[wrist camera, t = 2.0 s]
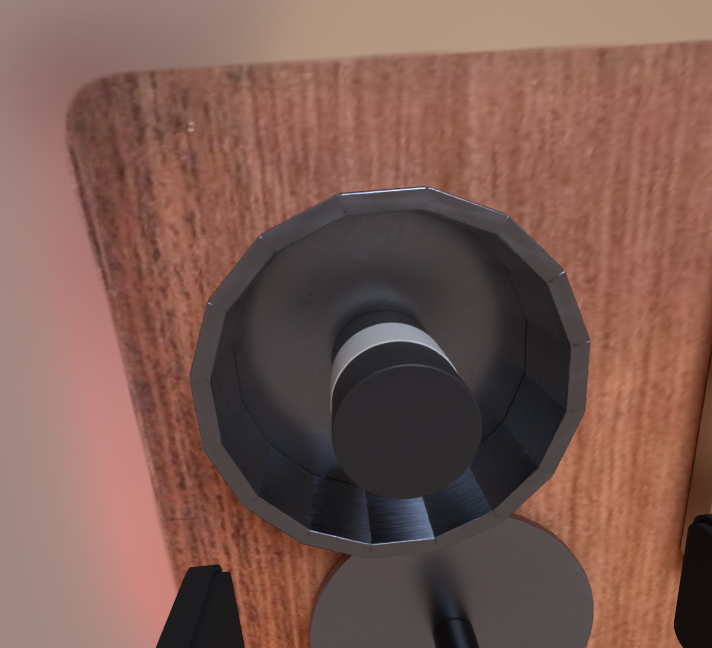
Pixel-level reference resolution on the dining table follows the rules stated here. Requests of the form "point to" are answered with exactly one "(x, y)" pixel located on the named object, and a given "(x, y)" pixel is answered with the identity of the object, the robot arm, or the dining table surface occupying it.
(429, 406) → the cylinder
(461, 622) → the lid
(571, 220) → the dining table surface
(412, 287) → the pan
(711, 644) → the robot arm
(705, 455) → the board
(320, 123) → the dining table surface
